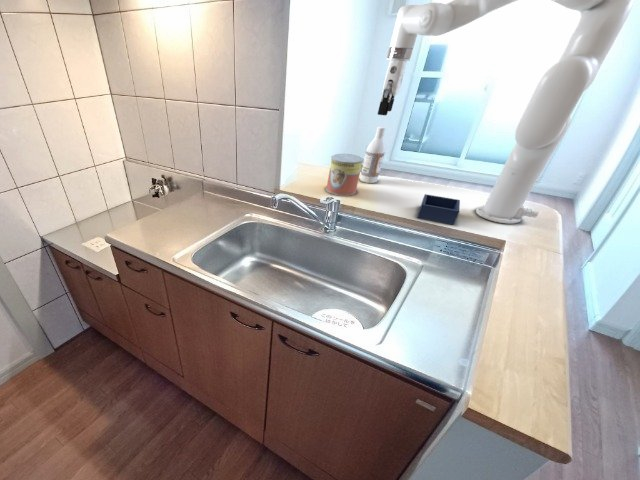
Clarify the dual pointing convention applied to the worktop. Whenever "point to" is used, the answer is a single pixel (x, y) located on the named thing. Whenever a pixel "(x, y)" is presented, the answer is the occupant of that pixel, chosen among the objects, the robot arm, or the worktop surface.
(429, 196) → the holder
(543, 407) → the worktop surface
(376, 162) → the bath foam
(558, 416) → the worktop surface
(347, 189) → the canned food
